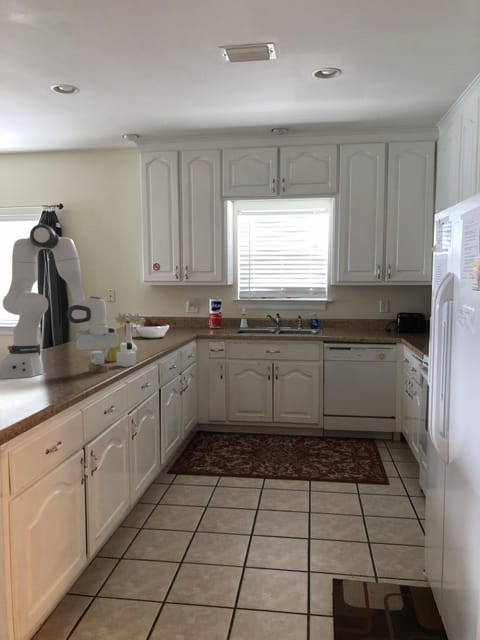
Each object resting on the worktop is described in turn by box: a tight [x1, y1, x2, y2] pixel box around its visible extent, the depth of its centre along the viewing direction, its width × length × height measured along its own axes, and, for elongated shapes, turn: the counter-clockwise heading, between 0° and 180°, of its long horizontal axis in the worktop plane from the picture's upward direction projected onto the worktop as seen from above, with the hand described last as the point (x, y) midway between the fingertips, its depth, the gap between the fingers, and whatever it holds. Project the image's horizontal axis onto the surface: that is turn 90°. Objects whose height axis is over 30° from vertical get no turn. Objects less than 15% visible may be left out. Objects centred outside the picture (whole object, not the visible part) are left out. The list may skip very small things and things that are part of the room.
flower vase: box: [114, 312, 147, 352], centre depth 304 cm, size 13×18×25 cm
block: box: [88, 363, 108, 374], centre depth 250 cm, size 7×7×3 cm
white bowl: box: [135, 318, 170, 339], centre depth 387 cm, size 25×25×15 cm
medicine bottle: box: [116, 342, 137, 368], centre depth 267 cm, size 7×7×12 cm
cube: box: [90, 350, 105, 365], centre depth 251 cm, size 5×5×5 cm
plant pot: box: [102, 341, 122, 362], centre depth 282 cm, size 10×10×10 cm
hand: (98, 357), depth 250 cm, fingers closed on cube, 5 cm apart
